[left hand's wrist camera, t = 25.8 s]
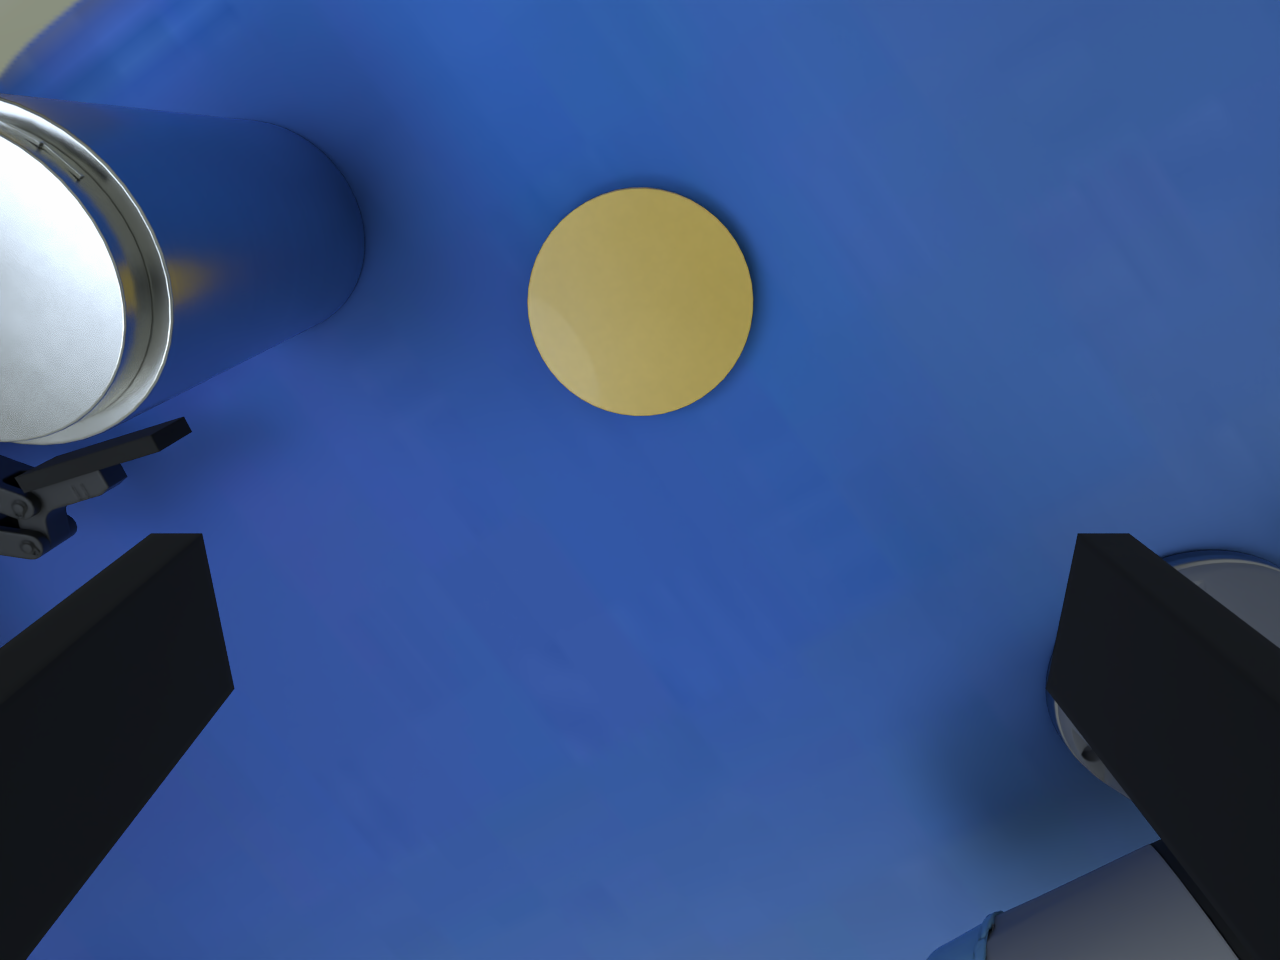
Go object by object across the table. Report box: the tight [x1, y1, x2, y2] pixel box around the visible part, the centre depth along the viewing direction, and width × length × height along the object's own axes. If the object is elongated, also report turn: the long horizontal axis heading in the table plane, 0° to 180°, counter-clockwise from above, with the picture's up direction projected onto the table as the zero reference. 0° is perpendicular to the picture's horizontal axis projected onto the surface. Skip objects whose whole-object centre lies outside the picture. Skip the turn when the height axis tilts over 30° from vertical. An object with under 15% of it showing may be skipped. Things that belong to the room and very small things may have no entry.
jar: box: [0, 94, 365, 445], centre depth 30 cm, size 10×10×19 cm
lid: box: [528, 187, 753, 416], centre depth 40 cm, size 11×11×2 cm
